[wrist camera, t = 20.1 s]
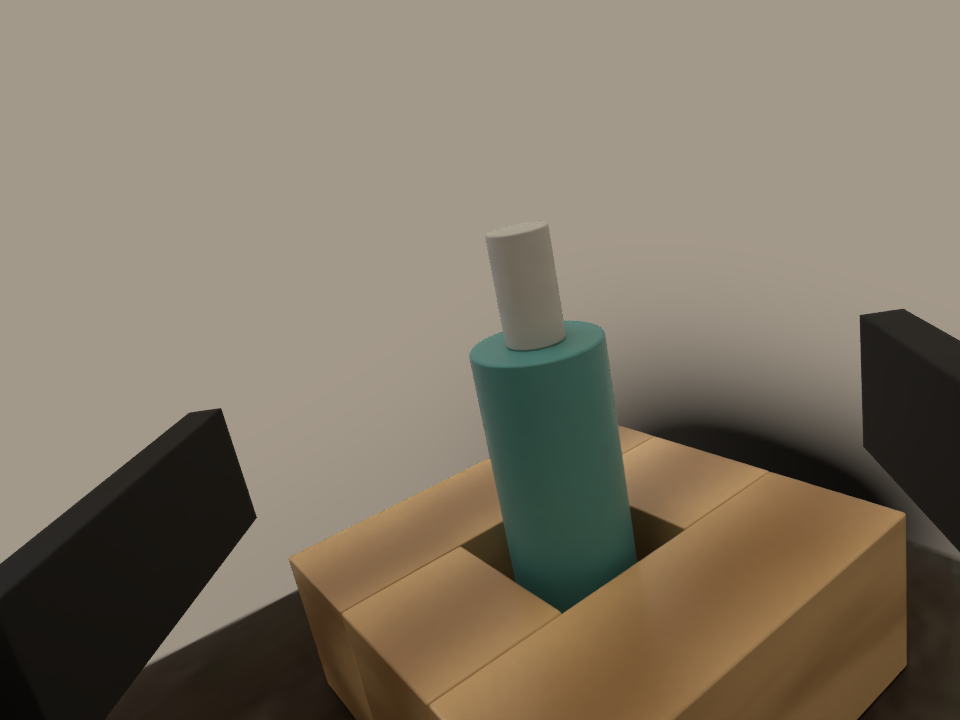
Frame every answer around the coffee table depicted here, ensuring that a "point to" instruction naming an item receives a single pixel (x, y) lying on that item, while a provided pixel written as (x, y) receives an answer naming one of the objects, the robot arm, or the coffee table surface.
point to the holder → (618, 604)
